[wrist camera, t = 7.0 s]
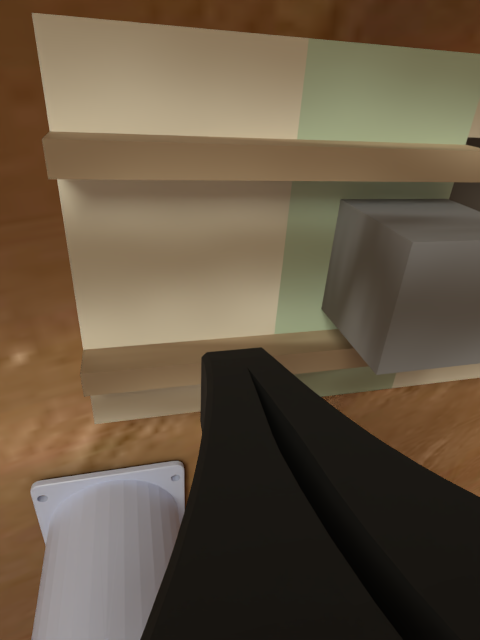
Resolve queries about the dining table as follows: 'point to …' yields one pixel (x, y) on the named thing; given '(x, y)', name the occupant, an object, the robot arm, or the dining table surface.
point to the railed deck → (234, 192)
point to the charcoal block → (406, 282)
